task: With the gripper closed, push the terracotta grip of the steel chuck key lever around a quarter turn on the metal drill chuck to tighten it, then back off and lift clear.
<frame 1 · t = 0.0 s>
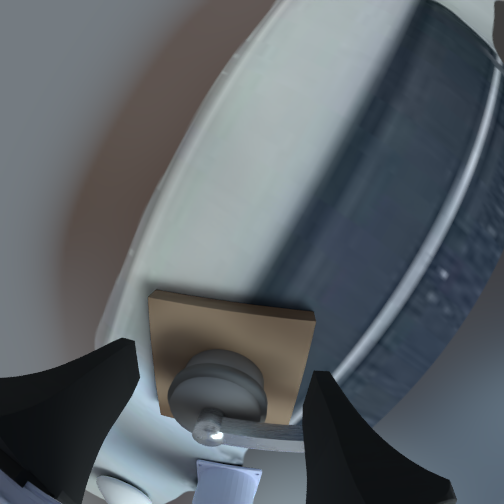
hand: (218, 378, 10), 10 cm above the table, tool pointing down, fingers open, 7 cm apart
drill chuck: (226, 369, 22), on the table
chuck key: (271, 447, 14), point 8 cm above the table, hinge at 0.0°
flower in vase: (130, 488, 33), on the table
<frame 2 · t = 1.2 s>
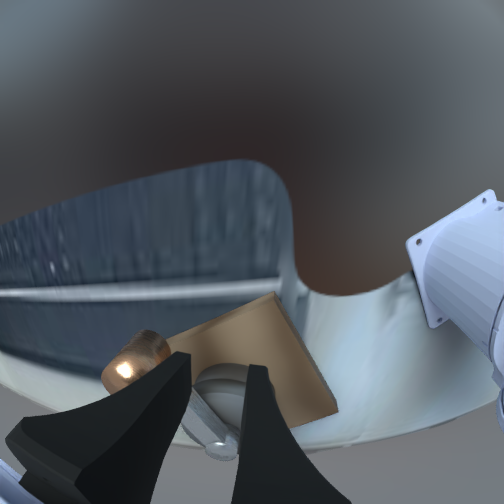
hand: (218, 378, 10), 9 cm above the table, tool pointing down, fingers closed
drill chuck: (237, 381, 21), on the table
chuck key: (182, 415, 13), point 8 cm above the table, hinge at -1.1°
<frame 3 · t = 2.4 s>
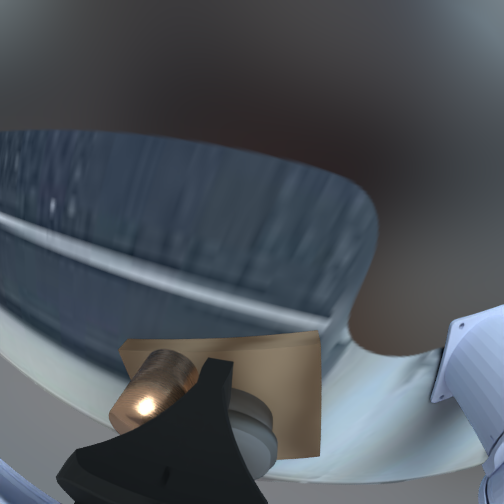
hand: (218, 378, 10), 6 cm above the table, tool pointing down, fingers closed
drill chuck: (230, 403, 18), on the table
chuck key: (188, 451, 10), point 8 cm above the table, hinge at 0.7°, touching gripper
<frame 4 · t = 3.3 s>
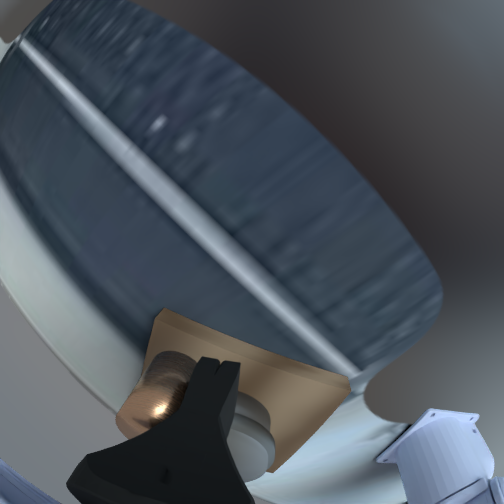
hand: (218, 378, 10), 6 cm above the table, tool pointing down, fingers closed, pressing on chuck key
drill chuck: (228, 404, 18), on the table
chuck key: (189, 453, 10), point 8 cm above the table, hinge at 28.1°, touching gripper
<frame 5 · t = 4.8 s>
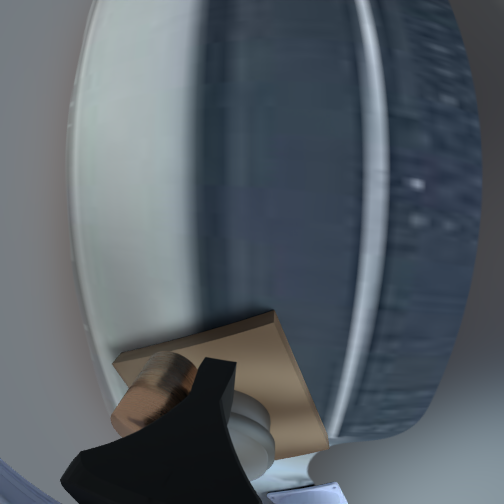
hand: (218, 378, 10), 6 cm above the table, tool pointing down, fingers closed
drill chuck: (228, 404, 18), on the table
chuck key: (187, 453, 10), point 8 cm above the table, hinge at 74.9°, touching gripper
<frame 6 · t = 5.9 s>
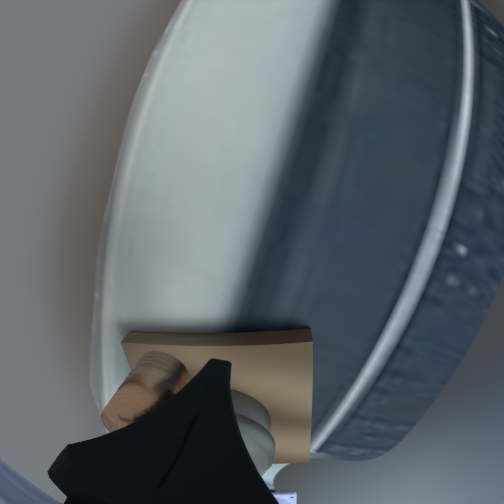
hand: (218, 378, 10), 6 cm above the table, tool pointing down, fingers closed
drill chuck: (228, 404, 18), on the table
chuck key: (182, 452, 10), point 8 cm above the table, hinge at 94.2°, touching gripper
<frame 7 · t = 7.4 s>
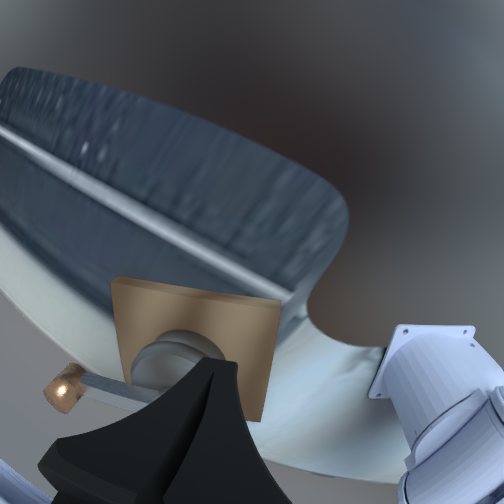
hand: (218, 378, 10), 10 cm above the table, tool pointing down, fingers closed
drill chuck: (193, 352, 22), on the table
chuck key: (109, 401, 15), point 8 cm above the table, hinge at 94.4°
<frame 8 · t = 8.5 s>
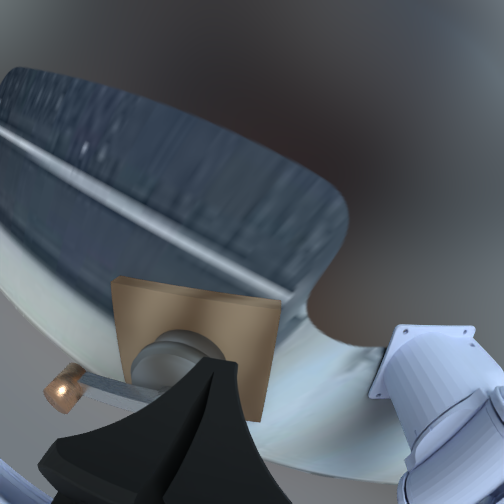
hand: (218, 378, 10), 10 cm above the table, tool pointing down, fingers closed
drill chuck: (193, 352, 22), on the table
chuck key: (109, 401, 15), point 8 cm above the table, hinge at 94.4°
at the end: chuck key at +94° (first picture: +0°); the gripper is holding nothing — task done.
